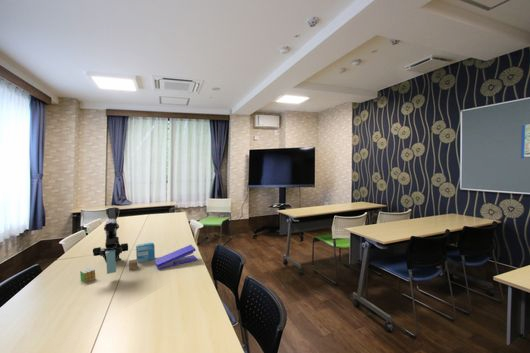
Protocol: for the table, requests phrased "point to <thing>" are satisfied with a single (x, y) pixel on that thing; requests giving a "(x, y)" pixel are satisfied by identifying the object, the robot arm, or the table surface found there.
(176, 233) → the table surface
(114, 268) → the teal block
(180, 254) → the stapler
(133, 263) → the walnut cube
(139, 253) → the data package
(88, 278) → the puzzle toy
